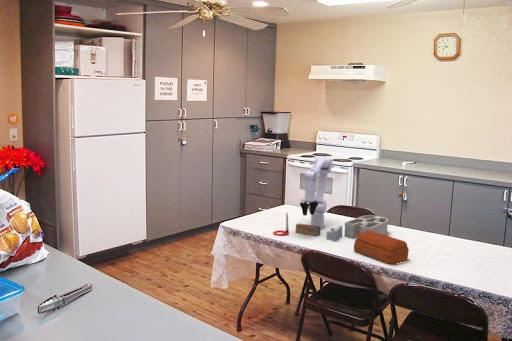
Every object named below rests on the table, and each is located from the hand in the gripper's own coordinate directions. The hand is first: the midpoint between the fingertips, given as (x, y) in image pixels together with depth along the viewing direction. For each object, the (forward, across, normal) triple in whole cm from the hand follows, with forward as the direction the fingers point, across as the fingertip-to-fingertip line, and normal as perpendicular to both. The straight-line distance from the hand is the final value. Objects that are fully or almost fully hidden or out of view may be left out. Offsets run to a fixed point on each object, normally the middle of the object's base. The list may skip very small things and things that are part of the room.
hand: (308, 214), depth 281 cm
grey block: (+12, +8, -15) cm, 20 cm away
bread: (+15, -2, -47) cm, 49 cm away
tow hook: (+13, -7, +14) cm, 20 cm away
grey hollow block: (+10, +28, -25) cm, 39 cm away
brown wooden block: (+12, +4, +2) cm, 13 cm away
